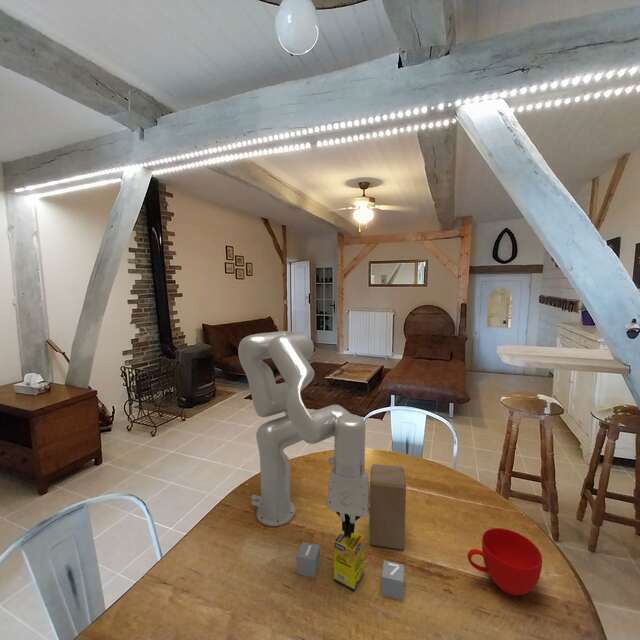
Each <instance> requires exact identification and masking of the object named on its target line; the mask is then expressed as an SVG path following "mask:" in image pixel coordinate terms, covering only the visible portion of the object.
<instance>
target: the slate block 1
mask: <svg viewBox="0 0 640 640" xmlns="http://www.w3.org/2000/svg"><path fill="white" fill-rule="evenodd" d="M295 557H296V559H295V560H296V574H298V575H303V576H306V577H309V578H314V579H315V578H316V576H317V573H318V570H319V567H320V564H321V545H319V544H314V543H311V542H310V543H309V542H305V541H302V543H301V545H300V547H299V549H298V551H297V554H296V556H295Z"/></svg>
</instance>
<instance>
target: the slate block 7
mask: <svg viewBox="0 0 640 640" xmlns="http://www.w3.org/2000/svg"><path fill="white" fill-rule="evenodd" d="M404 579H405V564H402V563H399V562H393V561H390V560H385V559H384V560H383V566H382V573H381V596H384V597H387V598H391V599H395V600H399V601H404V586H405V585H404V584H405V583H404V581H405V580H404Z"/></svg>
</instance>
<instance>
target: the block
mask: <svg viewBox="0 0 640 640" xmlns="http://www.w3.org/2000/svg"><path fill="white" fill-rule="evenodd" d="M405 472H406V471H405V468H404V467H403V466H395V465H389V464H388V465H387V464H378V463H372V465H371V466H370V475H369V494H370V501H369V509H370V516H369V517H368V519H369V521H368V522H369V523H368V525H369V526H368V527H369V529H368V530H369V531H368V536H369V538H368V541H369V543H370V545H371V546H375V547H382V548H387V549H388V548H389V549H396V550H404V548H405V542H406V538H405V537H406V508H407V507H406V505H407V503H406V502H407V501H406V500H407V499H406V498H407V483H406V473H405Z"/></svg>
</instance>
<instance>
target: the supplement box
mask: <svg viewBox="0 0 640 640" xmlns="http://www.w3.org/2000/svg"><path fill="white" fill-rule="evenodd" d="M333 542H334V543H333V551H334V552H333V556H334V557H333V581H334V582H335V583H338V584H339V585H341V586H343V587H345V588H346V589H349V590H351V591H352V592H355V591H356V589H357V587H358V585H359V583H360V581H361V580H362V578H363V577H364V575H365V535H363V534H361V533H358V532H356V531H354V533H352V534H351V537H350V538H348V537H344V531H341V533H339V534H338V536H337V537H336V539H334V541H333Z"/></svg>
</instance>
